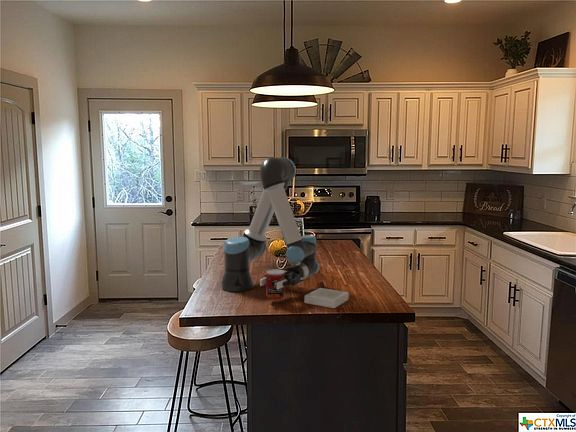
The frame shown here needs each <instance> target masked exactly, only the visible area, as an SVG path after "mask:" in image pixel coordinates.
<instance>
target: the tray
mask: <svg viewBox="0 0 576 432" xmlns="http://www.w3.org/2000/svg"><path fill="white" fill-rule="evenodd" d="M349 295H350V294H349V292H348V291H344V290H343V291H342V290H338V289H337V290H336V289H330V288H323V287H319V288H317V289H314V290H313V291H311V292H309V293H307V294H305V295H304V304H309V305H314V306H319V307H325V308H331V309H335V308H338V307H339V306H341V305H343V304H344V303H346V302H347V301H348V300H349Z"/></svg>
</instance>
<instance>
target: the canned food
mask: <svg viewBox="0 0 576 432" xmlns="http://www.w3.org/2000/svg"><path fill="white" fill-rule="evenodd" d="M284 272H285V271H284V270H283V269H274V268H273V269H269V270H266V274H265V275H266V284H265V285H266V286H265V287H266V289H265V290H266V291H265V293H266V298H268V299H270V300H280V299H283V298H284V296H285V287H282V288H280V289H277V282H280V281H282V280H284V279H285V273H284Z"/></svg>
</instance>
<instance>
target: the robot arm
mask: <svg viewBox="0 0 576 432" xmlns="http://www.w3.org/2000/svg"><path fill="white" fill-rule="evenodd" d="M296 174H297V169H296V165H295V163H294V161H292V159H291V158H287V157H284V156H281V157H275V156H274V157H268V158H266V159H265V160H264V161H263V162H262V163H261V166H260V169H259V176H260V181H261V183H262V184H261V185H262V187H263V190H262V193H261V196H260V198H259V201H258V203H257V206H256V209H255V212H254V215H253V217H252V219H251V222H250V225H249V227H248V228H247V229H244V232H243V235H242V236H235V237H230V238H227V239H226V240H225V241H224V246H223V250H224V251H223V252H224V255H223V256H224V273H223V277H222V280H221V284H220V285H221V287H220V288H221V289H222V290H223V291H227V292H246V291H249V290H252V289H254V281H253V278H252V275H251V274H252V273H251V272H250V262H252V261H255V260H257V259H259V258H261V257H262V256H263V255H264V254H265V252H266V250H267V243H266V242H267V240H268V239H267V236H266V234H267V231H268V228H269V225H270V223H271V220H272V218H273V215H274V214H275V217H276V220H277V223H278V225H279V227H280V228H279V229H280V232H281V234H282V236H283V240H284V242H285V246H286V248H287V250H286V251H285V257H286V259H287V260H288V261H289V262H291V263H292V264H294V265H290V266H288V268H287V269H286V270H285V271H284V273H285V279H284V280H282V281H280V282H277V289H280V288H282V287H284V288H285V287H288V286H291V287H294V286H296V285H298V284H299V283H300V282H303V281H304V280H305V279H307V278H310V277H313V276H314V275H316V274H317V273H318V272H319V270H320V265H319V262H318V261H317V257H316V256H317V254H316V252H317V238H316V236H314V235H301V234H300V230H299V227H298V224H297V221H296V218H295V216H294V212H293V209H292V207H291V205H290V202H289V199H288V196H287V193H286V190H287V188H288V186H289V183H290V182H291V181H292V180H293V179H294V178H295V176H296ZM265 285H266V274H264V277H263V278H261V279H259V286H260V287H263V286H265Z"/></svg>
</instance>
